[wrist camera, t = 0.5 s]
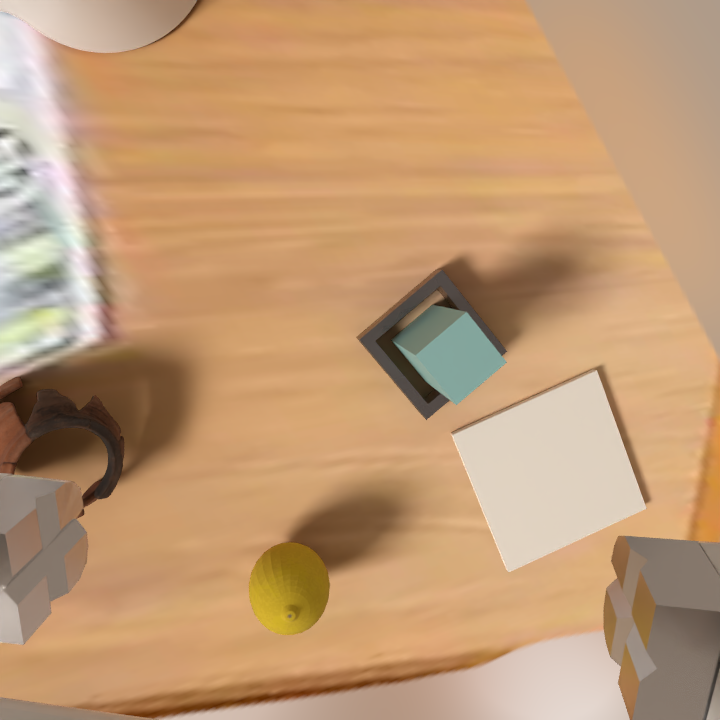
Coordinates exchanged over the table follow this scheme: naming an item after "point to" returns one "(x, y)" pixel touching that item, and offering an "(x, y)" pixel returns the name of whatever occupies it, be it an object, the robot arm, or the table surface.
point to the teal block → (449, 351)
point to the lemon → (289, 588)
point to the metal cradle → (397, 313)
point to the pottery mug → (53, 411)
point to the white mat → (549, 470)
